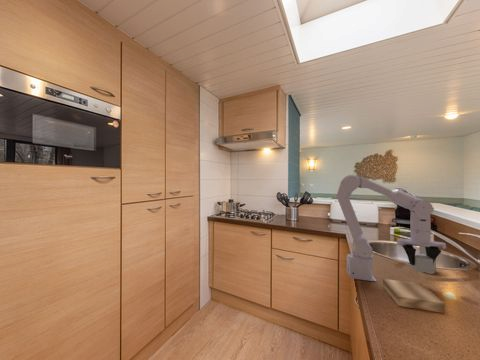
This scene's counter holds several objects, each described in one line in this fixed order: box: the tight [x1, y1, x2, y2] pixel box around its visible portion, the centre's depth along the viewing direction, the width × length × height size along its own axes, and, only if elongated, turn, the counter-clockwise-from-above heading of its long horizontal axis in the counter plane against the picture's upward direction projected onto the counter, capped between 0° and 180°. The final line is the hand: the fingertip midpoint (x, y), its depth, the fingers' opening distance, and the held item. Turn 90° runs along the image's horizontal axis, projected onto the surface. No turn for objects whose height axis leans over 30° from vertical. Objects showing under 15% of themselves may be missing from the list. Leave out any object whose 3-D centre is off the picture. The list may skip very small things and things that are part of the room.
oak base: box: [382, 278, 446, 314], centre depth 67 cm, size 12×12×3 cm
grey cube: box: [408, 253, 433, 274], centre depth 74 cm, size 5×5×5 cm
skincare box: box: [418, 246, 437, 275], centre depth 87 cm, size 6×4×12 cm
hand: (420, 265), depth 74 cm, fingers closed on grey cube, 5 cm apart
